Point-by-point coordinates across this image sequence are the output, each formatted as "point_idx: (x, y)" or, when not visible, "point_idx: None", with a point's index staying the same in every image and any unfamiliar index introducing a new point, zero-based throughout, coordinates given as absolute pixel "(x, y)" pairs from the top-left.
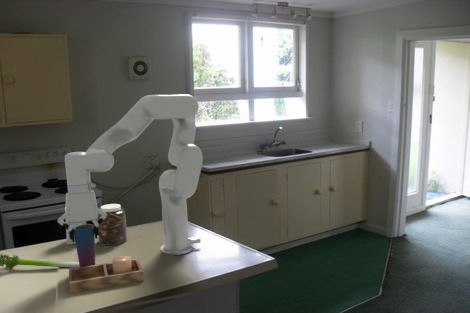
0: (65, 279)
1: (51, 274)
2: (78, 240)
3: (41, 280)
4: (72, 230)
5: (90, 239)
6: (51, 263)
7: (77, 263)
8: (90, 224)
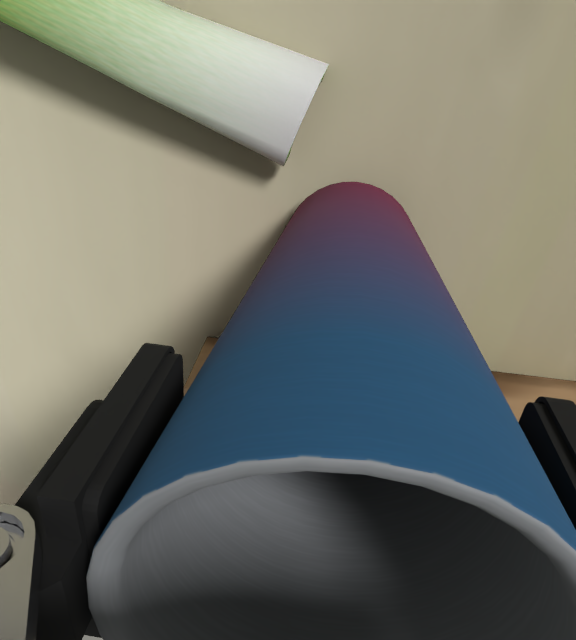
0: (177, 302)
1: (61, 144)
2: (234, 512)
3: (10, 232)
4: (89, 612)
5: (402, 539)
6: (5, 16)
7: (270, 126)
8: (570, 577)
